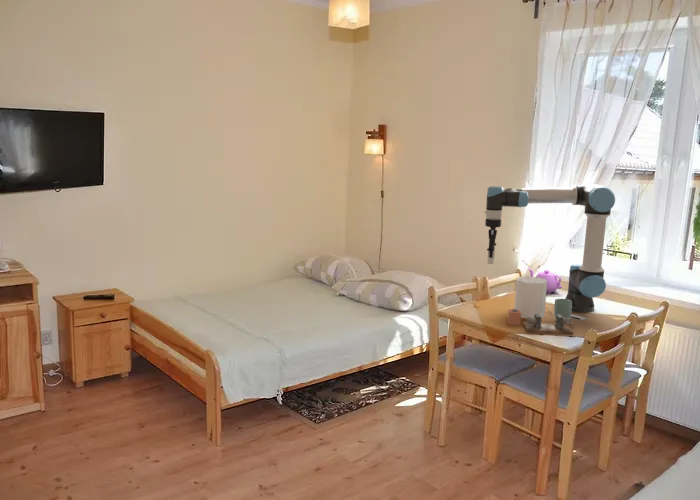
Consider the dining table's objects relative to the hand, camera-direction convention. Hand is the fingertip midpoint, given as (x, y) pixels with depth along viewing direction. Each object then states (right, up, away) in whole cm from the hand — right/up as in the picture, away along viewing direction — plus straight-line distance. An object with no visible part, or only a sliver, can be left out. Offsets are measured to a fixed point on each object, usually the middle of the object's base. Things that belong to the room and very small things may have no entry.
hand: (490, 261), depth 302 cm
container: (+20, -27, +3) cm, 34 cm away
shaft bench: (+22, -31, -20) cm, 43 cm away
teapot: (+42, -18, +49) cm, 67 cm away
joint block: (+9, -29, -11) cm, 32 cm away
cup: (+33, -29, -6) cm, 44 cm away
